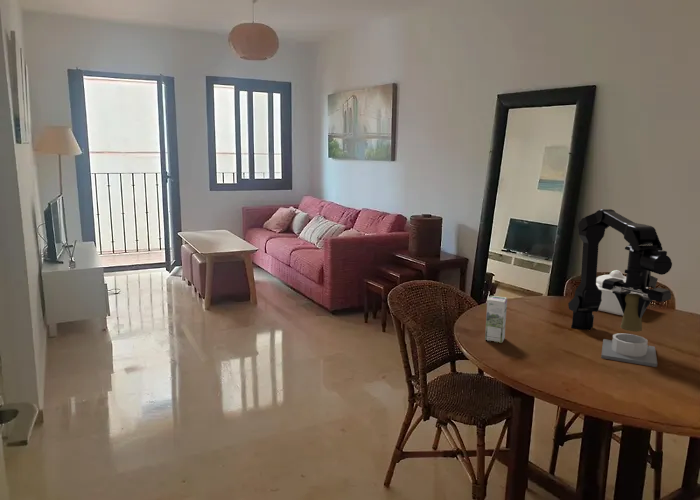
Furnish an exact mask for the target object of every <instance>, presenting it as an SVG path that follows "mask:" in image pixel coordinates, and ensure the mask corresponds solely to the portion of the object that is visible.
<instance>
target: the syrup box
mask: <svg viewBox="0 0 700 500" xmlns="http://www.w3.org/2000/svg"><path fill="white" fill-rule="evenodd" d="M486 301H487V302H486V316H485V318H486V319H485V333H484V335H485V336H484V341H485V340H487V342H491V341H494V342H493V343H498V342H499V344H502V343H503V342H504V340H505V337H506V320H507V310H508V309H507V308H508V307H507V306H508V297H505V296H498V295H495V296H494V295H489V296H488V298H487V300H486Z"/></svg>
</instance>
